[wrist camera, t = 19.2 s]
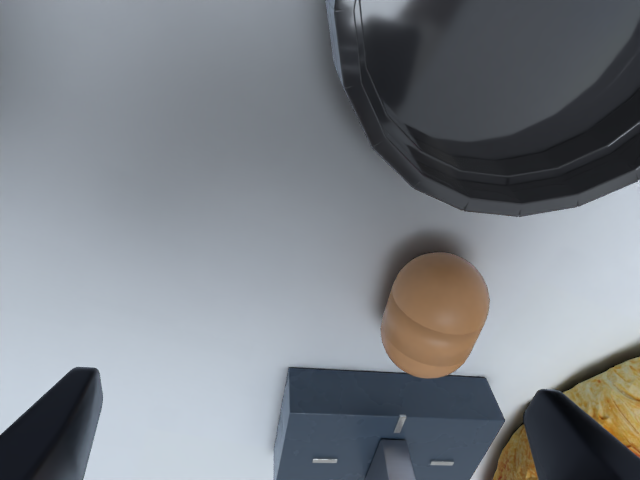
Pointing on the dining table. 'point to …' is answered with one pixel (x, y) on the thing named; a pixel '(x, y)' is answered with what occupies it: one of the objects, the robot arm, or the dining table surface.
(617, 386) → the croissant
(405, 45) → the egg pan
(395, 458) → the hob knob
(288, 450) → the hob control
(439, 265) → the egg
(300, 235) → the dining table surface
